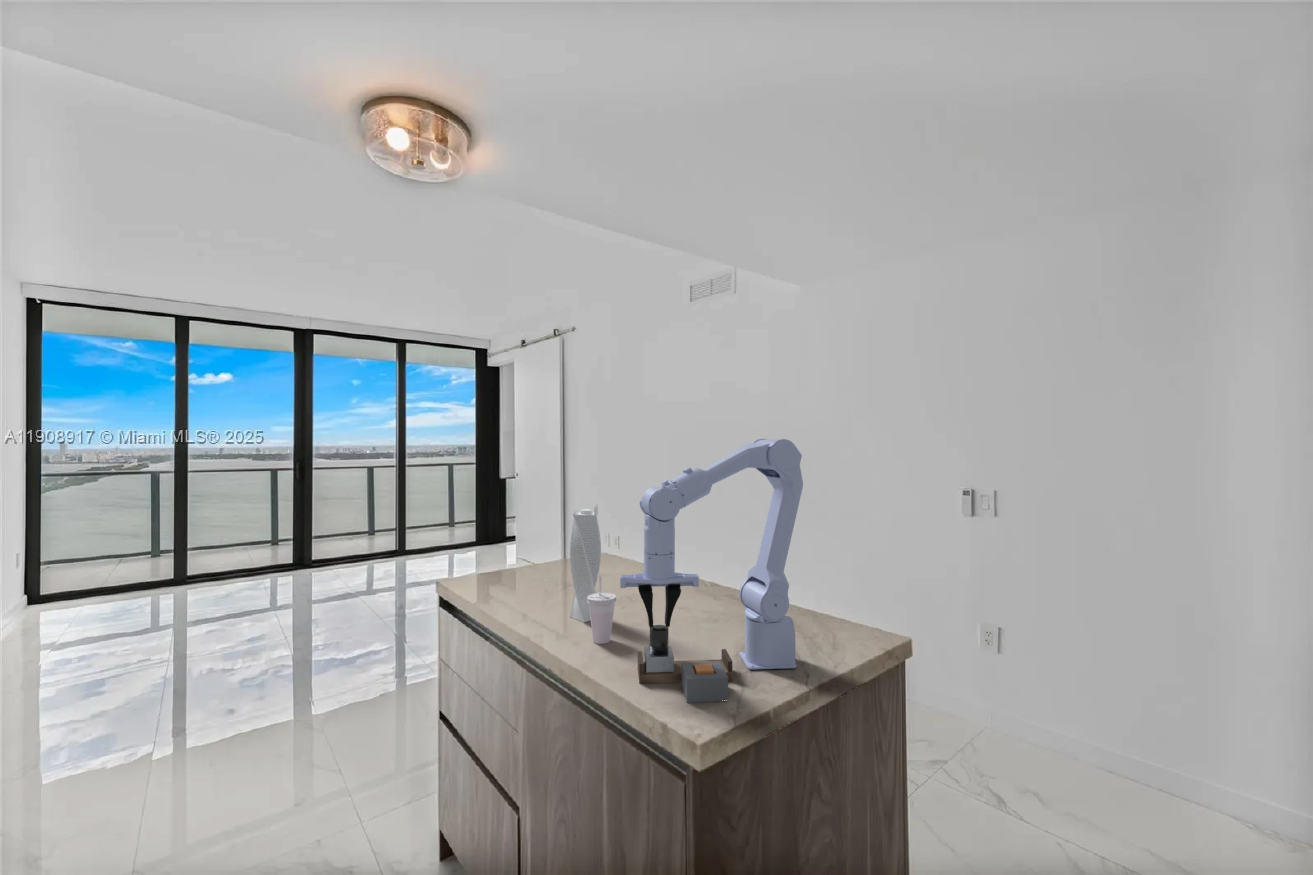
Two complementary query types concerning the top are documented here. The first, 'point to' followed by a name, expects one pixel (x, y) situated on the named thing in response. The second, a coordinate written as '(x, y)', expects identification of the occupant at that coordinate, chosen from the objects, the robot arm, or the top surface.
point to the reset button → (703, 669)
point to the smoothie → (601, 615)
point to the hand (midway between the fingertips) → (659, 625)
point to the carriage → (659, 651)
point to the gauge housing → (704, 683)
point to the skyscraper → (584, 560)
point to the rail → (677, 670)
